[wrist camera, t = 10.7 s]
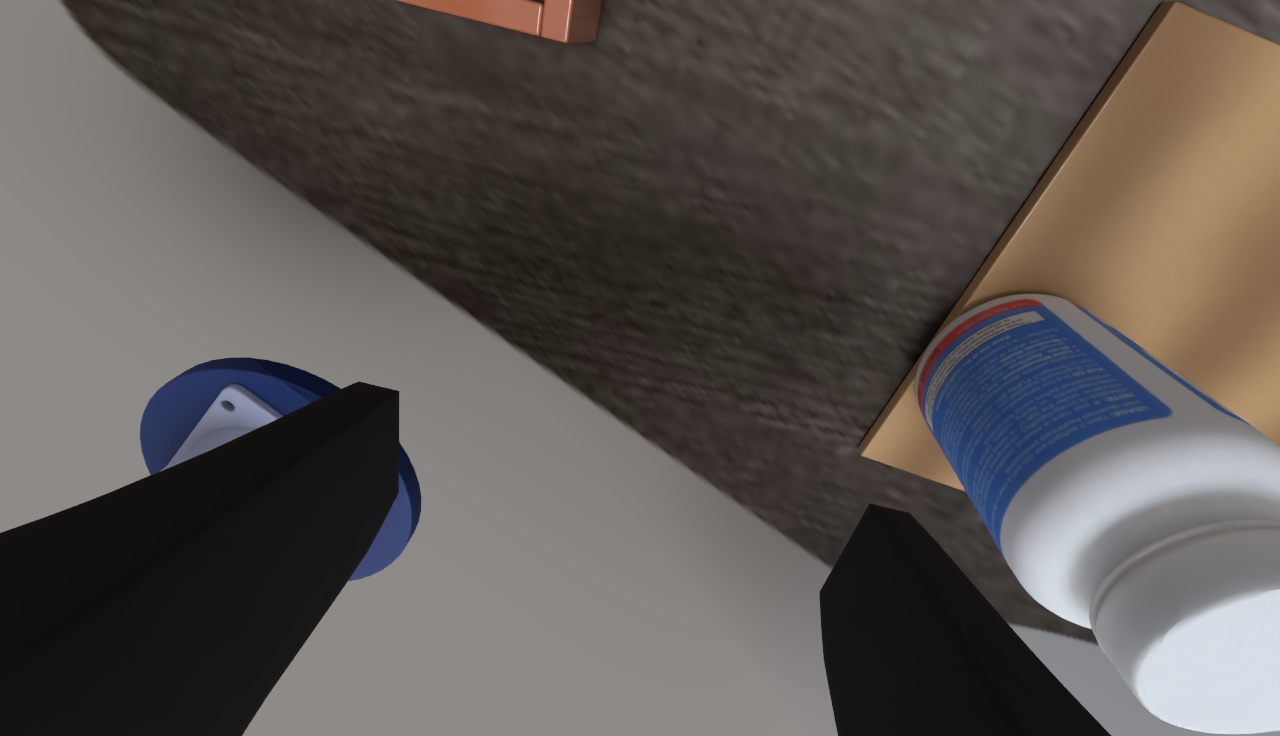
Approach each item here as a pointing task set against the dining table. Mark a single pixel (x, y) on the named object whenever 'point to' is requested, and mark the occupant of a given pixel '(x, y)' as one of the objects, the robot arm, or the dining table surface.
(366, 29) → the dining table surface
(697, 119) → the dining table surface
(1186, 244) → the mat
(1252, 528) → the pill bottle
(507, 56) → the dining table surface
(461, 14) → the holder
